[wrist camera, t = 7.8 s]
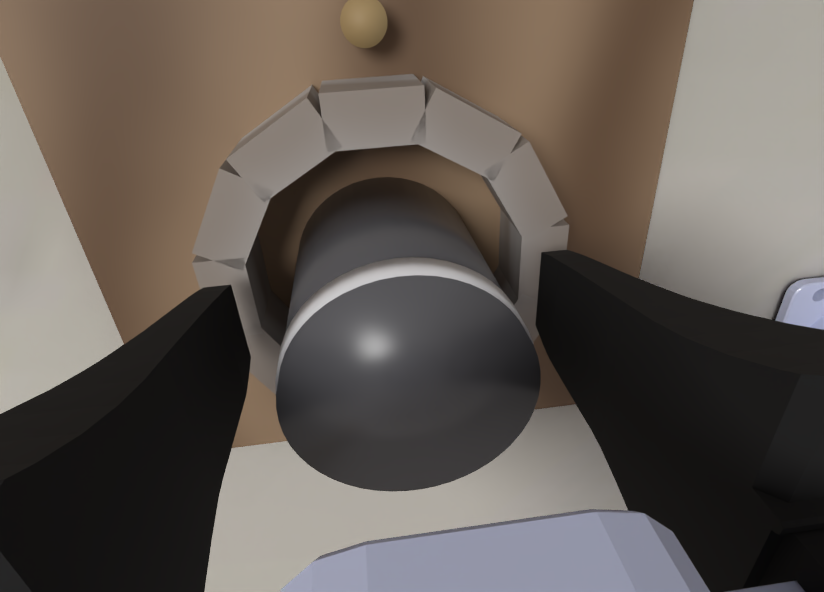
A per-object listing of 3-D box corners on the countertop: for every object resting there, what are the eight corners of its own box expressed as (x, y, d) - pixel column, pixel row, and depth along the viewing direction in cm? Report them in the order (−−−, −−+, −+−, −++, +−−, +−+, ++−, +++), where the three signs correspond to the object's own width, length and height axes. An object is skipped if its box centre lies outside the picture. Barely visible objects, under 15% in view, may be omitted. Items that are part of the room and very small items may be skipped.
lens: (470, 165, 13) (552, 265, 8) (472, 322, 16) (536, 472, 11) (278, 186, 13) (241, 306, 8) (313, 343, 16) (302, 509, 11)
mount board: (685, -59, 12) (769, -75, 10) (604, 385, 19) (642, 439, 17) (-8, -18, 11) (-108, -24, 9) (178, 438, 18) (153, 504, 16)
